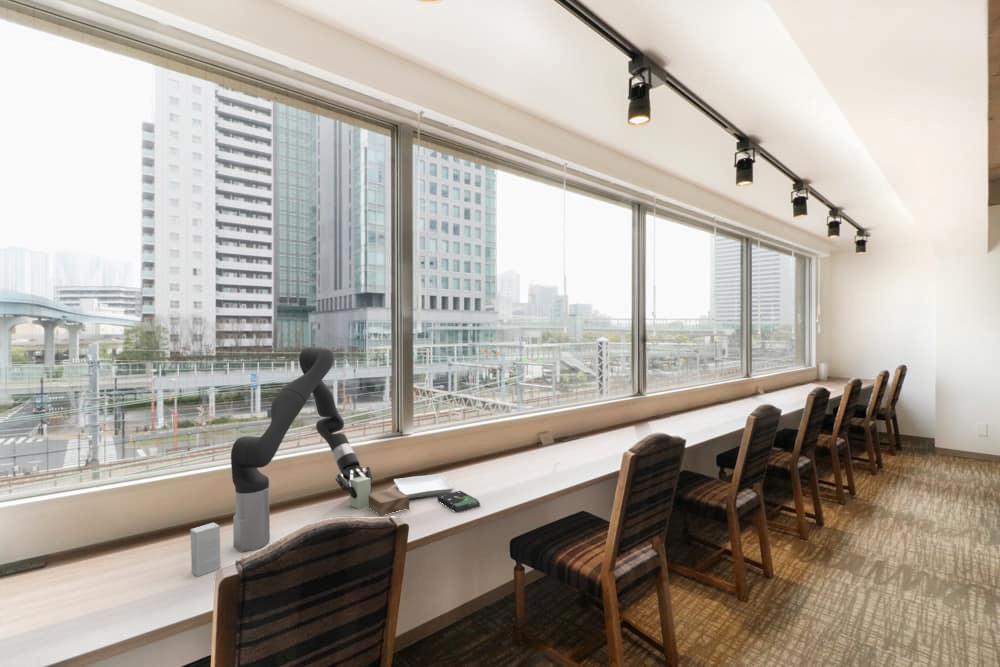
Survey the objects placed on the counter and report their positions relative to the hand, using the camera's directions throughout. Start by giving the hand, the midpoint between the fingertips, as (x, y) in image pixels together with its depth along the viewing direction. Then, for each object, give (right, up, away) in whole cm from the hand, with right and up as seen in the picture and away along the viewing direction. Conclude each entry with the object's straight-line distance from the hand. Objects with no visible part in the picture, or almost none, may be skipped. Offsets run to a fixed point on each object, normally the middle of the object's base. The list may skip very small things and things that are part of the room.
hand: (362, 494), depth 177 cm
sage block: (-1, -4, +1) cm, 5 cm away
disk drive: (+36, -5, +1) cm, 36 cm away
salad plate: (+20, -5, +17) cm, 27 cm away
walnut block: (+10, -4, -2) cm, 11 cm away
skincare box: (-29, -5, -47) cm, 56 cm away
